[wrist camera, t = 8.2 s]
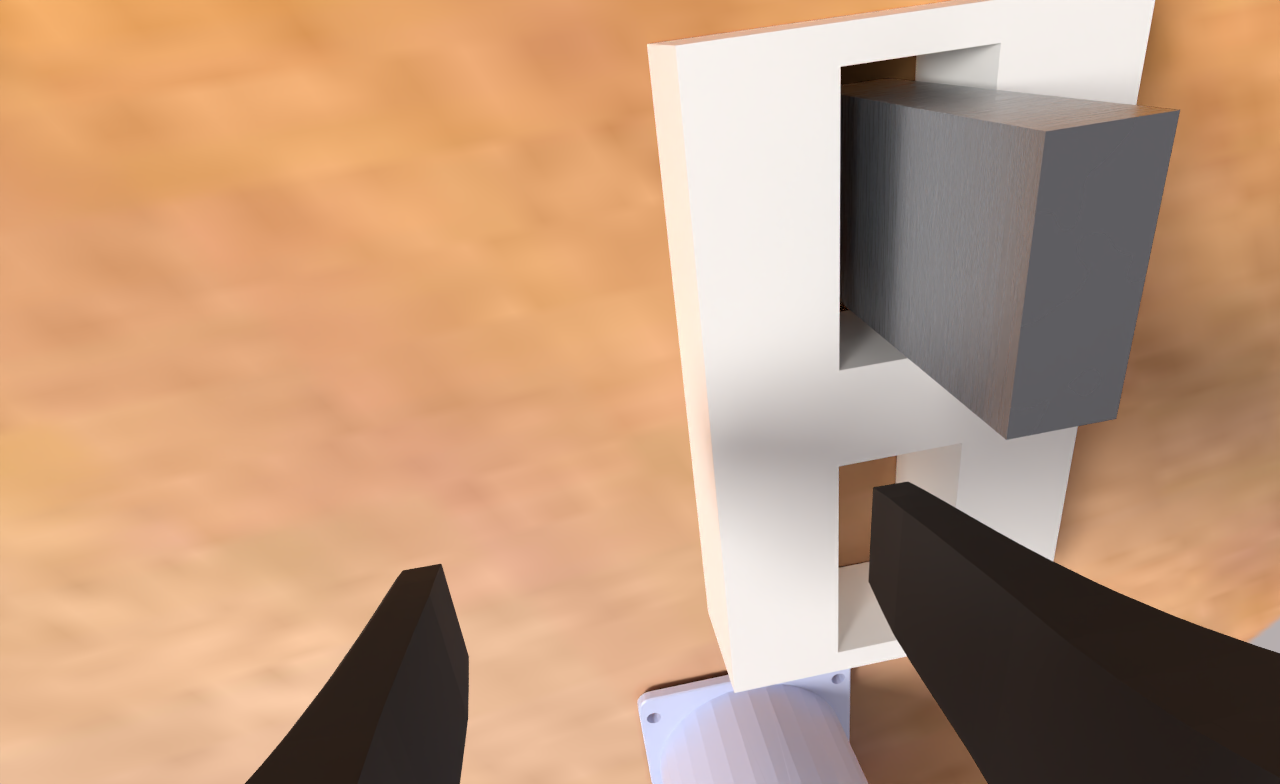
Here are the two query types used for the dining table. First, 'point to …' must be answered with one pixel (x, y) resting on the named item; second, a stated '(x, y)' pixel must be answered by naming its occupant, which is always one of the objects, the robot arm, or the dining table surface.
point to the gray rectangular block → (1002, 240)
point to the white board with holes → (834, 312)
